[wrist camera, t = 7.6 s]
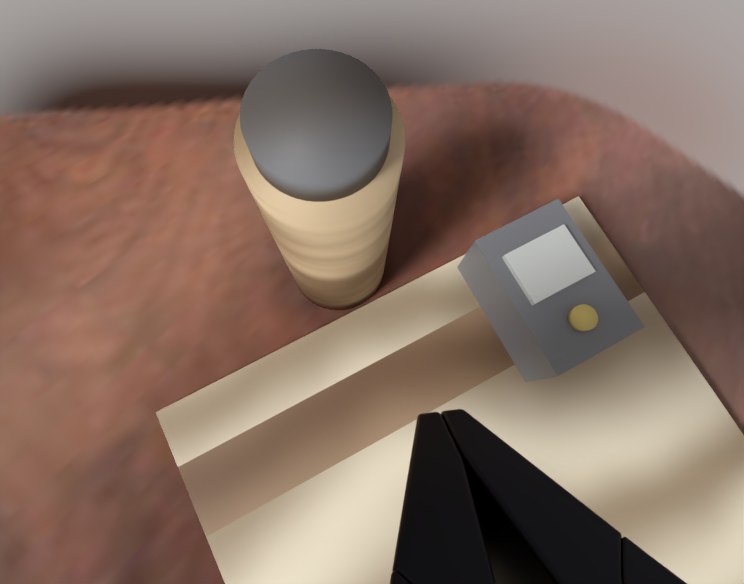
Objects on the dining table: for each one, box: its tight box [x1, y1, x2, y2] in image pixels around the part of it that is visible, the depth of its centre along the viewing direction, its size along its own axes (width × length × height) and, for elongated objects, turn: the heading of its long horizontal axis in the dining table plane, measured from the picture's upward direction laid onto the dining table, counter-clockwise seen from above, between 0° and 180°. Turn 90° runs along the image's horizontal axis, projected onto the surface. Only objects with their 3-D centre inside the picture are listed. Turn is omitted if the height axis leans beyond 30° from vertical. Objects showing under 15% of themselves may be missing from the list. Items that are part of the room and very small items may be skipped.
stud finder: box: [457, 199, 645, 382], centre depth 20 cm, size 6×4×4 cm, turn 28°
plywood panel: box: [156, 196, 744, 584], centre depth 20 cm, size 18×22×1 cm
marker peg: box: [234, 49, 405, 310], centre depth 17 cm, size 4×4×12 cm
